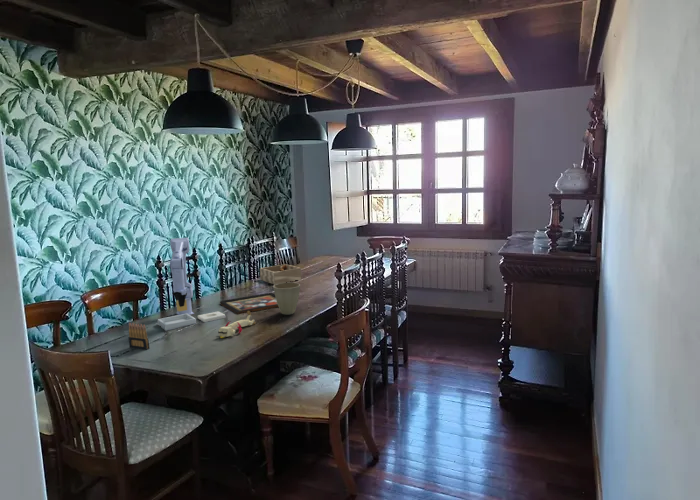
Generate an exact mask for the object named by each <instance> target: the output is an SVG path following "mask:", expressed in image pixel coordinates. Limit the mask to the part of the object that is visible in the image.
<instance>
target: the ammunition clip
mask: <svg viewBox="0 0 700 500" xmlns="http://www.w3.org/2000/svg"><path fill="white" fill-rule="evenodd" d="M128 345H129V348H131V349H137V350H145V351H147V350H149V349H150V344H149V337H148V332H147V328H146V325H145V323H143V324H142V323H137V324H136V322H130V321H129V322H128Z"/></svg>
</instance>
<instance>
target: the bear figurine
mask: <svg viewBox="0 0 700 500" xmlns="http://www.w3.org/2000/svg"><path fill="white" fill-rule="evenodd" d="M284 264H285V265H284ZM284 264H282V265H283V266H281V267H280V269H279V271H284V270H287V266H286V263H284Z"/></svg>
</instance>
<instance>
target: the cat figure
mask: <svg viewBox="0 0 700 500" xmlns="http://www.w3.org/2000/svg"><path fill="white" fill-rule="evenodd" d="M246 314H247V317H246V318H245V319H239V320H236V321H234V322H232V323H231V321H229V322H228V321H227V323H226V324H225V326H221V327H219V328H218V334H219V335H218V337H220V339H224V338H226V337H233V336H234V335H235V334H236V330H237V329H238V334H240V333H242V331H243V328H242V327H248V326H252V325H256V323H257V322H256V321H255V319H252V320H250V318H251V316H252V312H250V311H247V313H246Z"/></svg>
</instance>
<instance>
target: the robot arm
mask: <svg viewBox="0 0 700 500" xmlns="http://www.w3.org/2000/svg"><path fill="white" fill-rule="evenodd" d="M169 243H170V244H169V245H170V248H171V252H172V254H171V259H170V261H169V267H170V270H171V271H170V272H171V277H172V290H173V292H172V295H173V296H174V299H175V301H176V300H178V302H179V306H180V307H182V306H184V304H185V300H186V301H187V310H184V311H176V312H175V314H176V315H182V314H187V313H188V314H189V315H194V314H195V312H193V308H192V298H193V297H194V291H193V285H192V284H191V283H190V282H188V278H187V260H186V257H187V254H189V253H190V240H189V237H176V238H171V239H170V240H169Z"/></svg>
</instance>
